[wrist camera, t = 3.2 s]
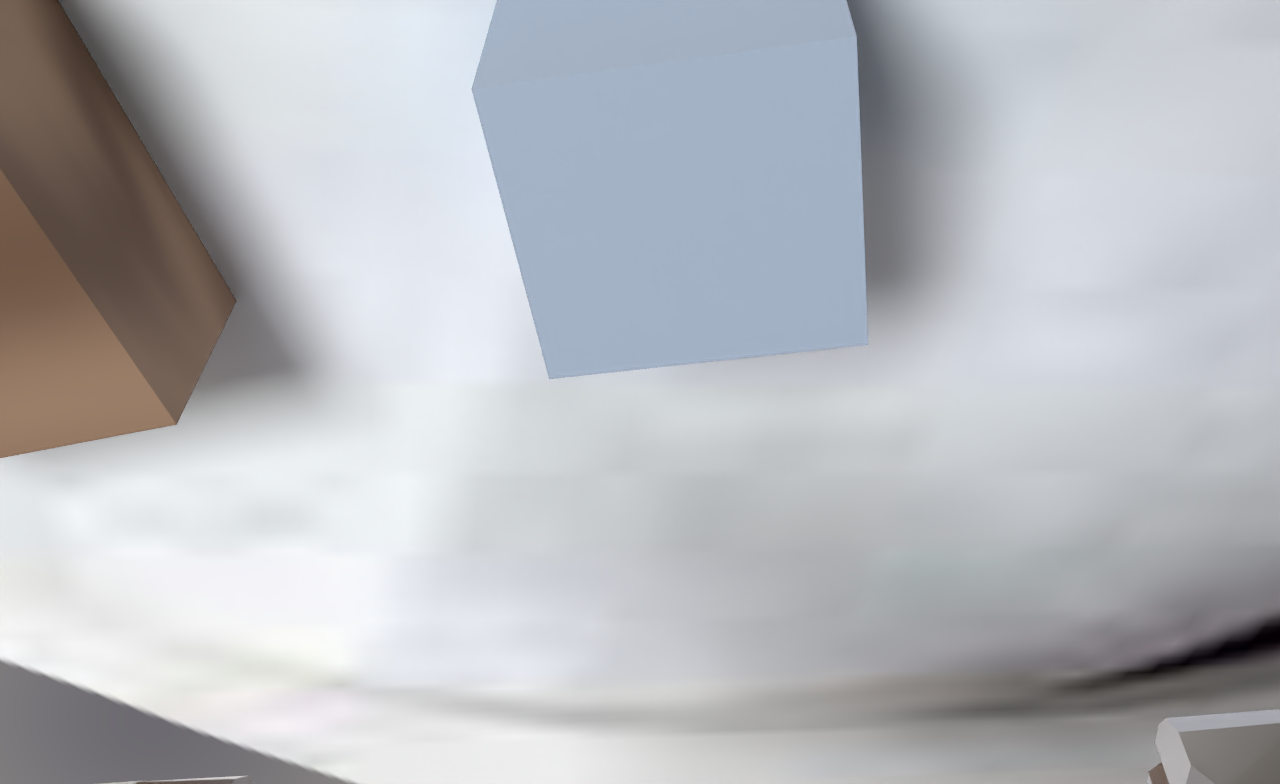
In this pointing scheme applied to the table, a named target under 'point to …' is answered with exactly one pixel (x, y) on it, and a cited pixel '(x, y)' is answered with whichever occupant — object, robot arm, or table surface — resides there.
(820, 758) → the table surface
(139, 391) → the walnut block
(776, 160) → the blue cube
